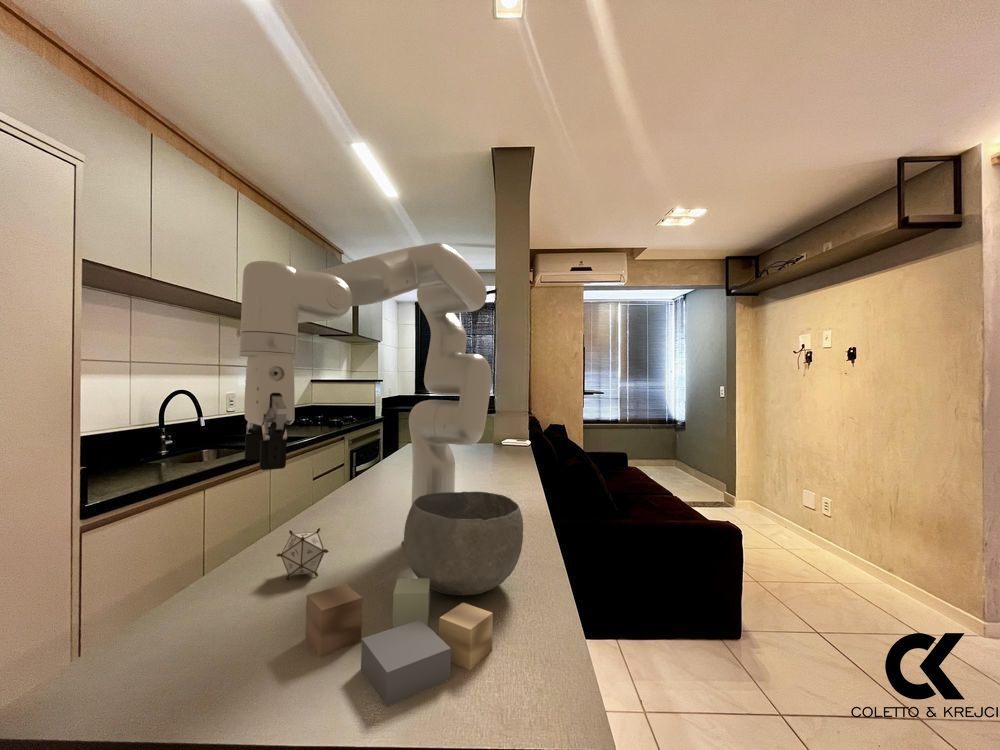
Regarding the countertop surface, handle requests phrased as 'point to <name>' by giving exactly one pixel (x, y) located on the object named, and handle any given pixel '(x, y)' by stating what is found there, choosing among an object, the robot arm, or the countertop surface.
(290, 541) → the game die
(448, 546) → the bowl
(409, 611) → the sage cube
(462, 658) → the oak cube
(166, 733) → the countertop surface
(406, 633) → the base block
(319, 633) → the walnut cube
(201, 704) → the countertop surface
